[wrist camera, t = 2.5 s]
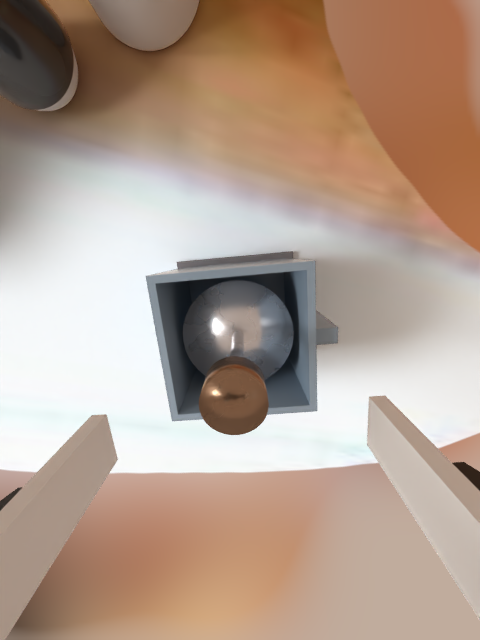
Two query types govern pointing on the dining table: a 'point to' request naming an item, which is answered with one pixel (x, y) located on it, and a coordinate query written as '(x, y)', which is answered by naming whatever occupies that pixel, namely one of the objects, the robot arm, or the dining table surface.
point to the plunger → (237, 351)
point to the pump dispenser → (35, 56)
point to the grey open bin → (269, 271)
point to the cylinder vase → (146, 21)
